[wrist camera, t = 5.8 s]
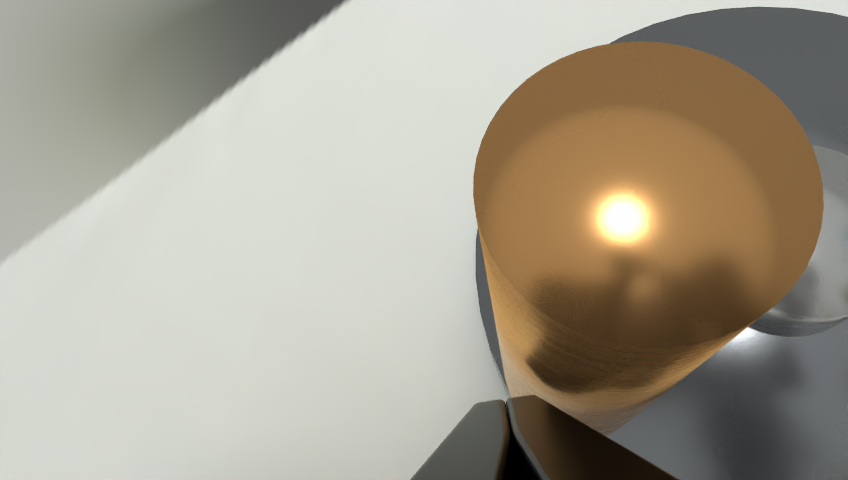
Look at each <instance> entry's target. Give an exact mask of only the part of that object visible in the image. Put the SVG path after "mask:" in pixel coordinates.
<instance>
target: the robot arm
mask: <svg viewBox="0 0 848 480" xmlns="http://www.w3.org/2000/svg"><path fill="white" fill-rule="evenodd" d="M506 407H507V408H506ZM507 413H508V414H507ZM410 480H680V479H678V478H677V477H675V476H673V475H671V474H670V473H668V472H666V471H665V470H663V469H661V468H659V467H658V466H656V465H654V464H653V463H651V462H649V461H647V460H646V459H644V458H642V457H641V456H639V455H637V454H636V453H634V452H632V451H630V450H629V449H627V448H625V447H624V446H622V445H620V444H618V443H617V442H615V441H613V440H612V439H610V438H608V437H606V436H605V435H603V434H601V433H600V432H598V431H596V430H594V429H593V428H591V427H589V426H588V425H586V424H584V423H582V422H581V421H579V420H577V419H576V418H574V417H572V416H570V415H569V414H567V413H565V412H564V411H562V410H560V409H558V408H557V407H555V406H553V405H552V404H550V403H548V402H546V401H545V400H543V399H541V398H540V397H538V396H536V395H526V396H519V397H513V398H509V399H508V400H507V402H506V404H505V402H504V401H503V400H493V401H486V402H480V403H477V404H475V405H474V406H473V407H472V408H471V409H470V411H469V412H468V413H467V414H466V415H465V416H464V418H463V419H462V420H461V421H460V422H459V423H458V425H457V426H456V427H455V428H454V429H453V430H452V432H451V433H450V434H449V435H448V436H447V437H446V439H445V440H444V441H443V442H442V443H441V444H440V446H439V447H438V448H437V449H436V450H435V451H434V453H433V454H432V455H431V456H430V457H429V458H428V460H427V461H426V462H425V463H424V464H423V465H422V467H421V468H420V469H419V470H418V471H417V472H416V474H415V475H414V476H413V477H412V478H411V479H410Z"/></svg>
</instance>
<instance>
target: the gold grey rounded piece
mask: <svg viewBox="0 0 848 480" xmlns="http://www.w3.org/2000/svg"><path fill="white" fill-rule="evenodd" d="M473 196H474V204H475V211H476V218H477V224H478V231H477V238H476V282H477V289H478V297H479V305H480V312H481V317H482V321H483V325H484V328H485V332H486V336H487V339H488V343H489V347H490V351H491V354H492V358H493V361H494V363H495V366H496V368H497V371H498V373H499V375H500V378H501V380H502V383H503V385H504V387H505V390H506V392H507V395H508V396H509V398H513V397H519V396H526V395H536V396H538V397H540V398H541V399H543V400H545V401H546V402H548V403H550V404H552V405H553V406H555V407H557V408H558V409H560V410H562V411H564V412H565V413H567V414H569V415H570V416H572V417H574V418H576V419H577V420H579V421H581V422H582V423H584V424H586V425H588V426H589V427H591V428H593V429H594V430H596V431H598V432H600V433H601V434H603V435H605V436H606V437H608V438H610V439H612V440H613V441H615V442H617V443H618V444H620V445H622V446H624V447H625V448H627V449H629V450H630V451H632V452H634V453H636V454H637V455H639V456H641V457H642V458H644V459H646V460H647V461H649V462H651V463H653V464H654V465H656V466H658V467H659V468H661V469H663V470H665V471H666V472H668V473H670V474H671V475H673V476H675V477H677V478H678V479H680V480H848V17H845V16H841V15H837V14H833V13H826V12H818V11H811V10H804V9H797V8H775V7H747V8H731V9H719V10H713V11H707V12H701V13H695V14H689V15H684V16H681V17H677V18H674V19H670V20H667V21H663V22H659V23H656V24H653V25H650V26H648V27H645V28H643V29H640V30H638V31H635V32H633V33H630V34H628V35H625V36H623V37H621V38H619V39H617V40H615V41H613V42H611V43H610V44H607V45H601V46H596V47H593V48H589V49H586V50H582V51H579V52H576V53H574V54H571V55H569V56H566V57H564V58H561V59H559V60H557V61H555V62H554V63H552V64H550V65H548V66H546V67H544V68H543V69H541V70H540V71H538V72H537V73H535V74H534V75H533V76H531V77H530V78H528V79H527V80H526V81H525V82H524V83H523V84H521V85H520V86H519V87H518V88H517V89H516V90H515V91H514V92H513V93H512V94H511V95H510V96H509V97H508V99H507V100H506V101H505V102H504V103H503V104H502V106H501V107H500V108H499V110H498V111H497V113H496V114H495V116H494V118H493V119H492V121H491V122H490V124H489V126H488V128H487V130H486V133H485V135H484V137H483V139H482V142H481V145H480V148H479V152H478V155H477V158H476V165H475V171H474V190H473Z"/></svg>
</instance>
